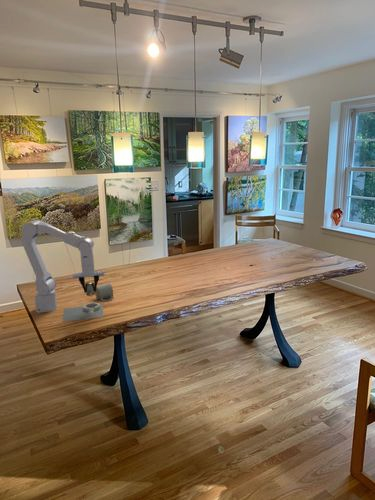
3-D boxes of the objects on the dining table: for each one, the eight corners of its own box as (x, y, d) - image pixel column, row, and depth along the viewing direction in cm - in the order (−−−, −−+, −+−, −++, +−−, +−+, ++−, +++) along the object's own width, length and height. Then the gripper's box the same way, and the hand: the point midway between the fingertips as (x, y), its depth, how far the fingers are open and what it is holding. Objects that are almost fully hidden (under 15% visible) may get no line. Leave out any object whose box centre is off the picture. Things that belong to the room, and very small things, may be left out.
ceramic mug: (94, 297, 199) (93, 284, 197) (109, 294, 203) (108, 281, 201) (100, 304, 190) (99, 290, 188) (116, 301, 194) (115, 287, 192)
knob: (85, 293, 182) (84, 282, 181) (94, 292, 184) (93, 281, 182) (86, 296, 178) (85, 285, 176) (95, 295, 179) (94, 284, 178)
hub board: (62, 323, 168) (62, 318, 168) (64, 310, 183) (63, 305, 183) (103, 318, 173) (103, 313, 172) (102, 305, 188) (101, 301, 187)
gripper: (71, 267, 172) (74, 296, 175) (103, 264, 175) (106, 292, 179) (71, 263, 179) (74, 291, 182) (103, 261, 182) (105, 287, 185)
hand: (90, 291), depth 181 cm, fingers closed on knob, 4 cm apart
